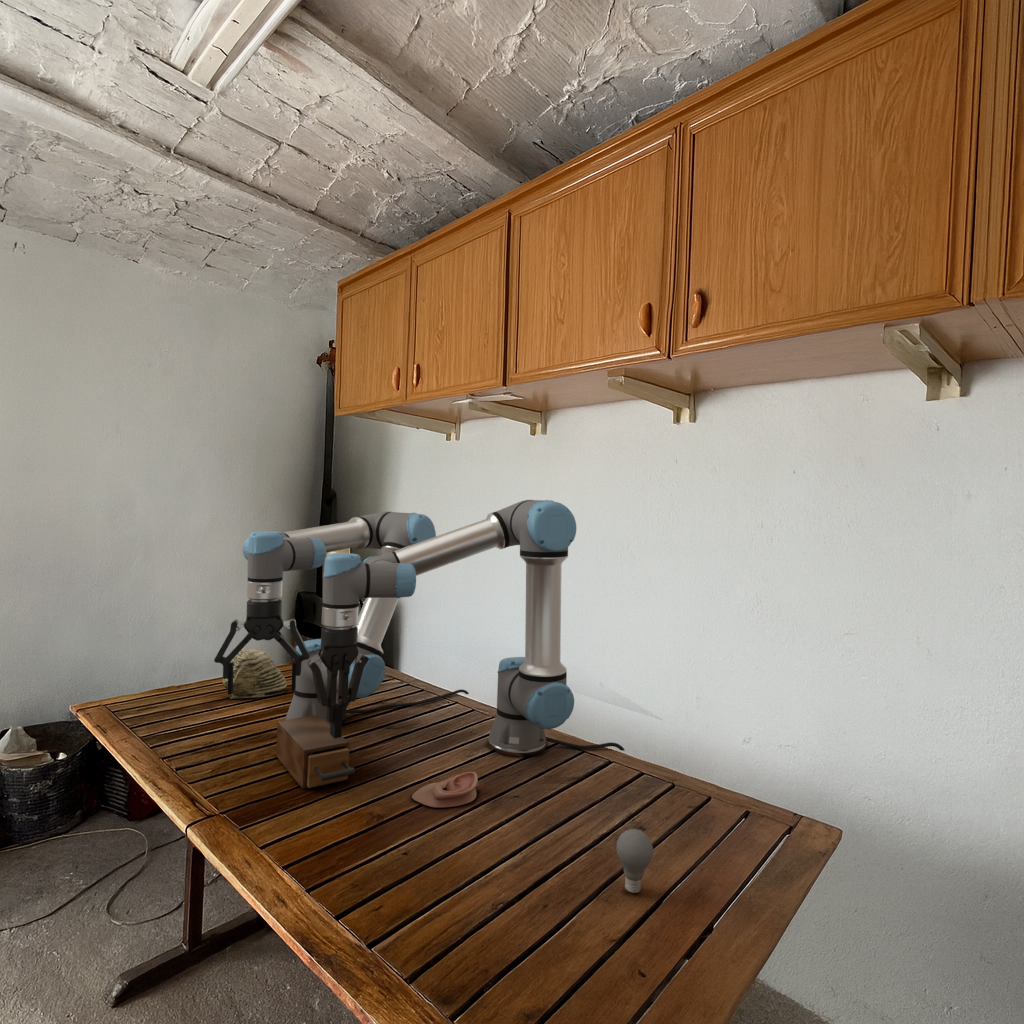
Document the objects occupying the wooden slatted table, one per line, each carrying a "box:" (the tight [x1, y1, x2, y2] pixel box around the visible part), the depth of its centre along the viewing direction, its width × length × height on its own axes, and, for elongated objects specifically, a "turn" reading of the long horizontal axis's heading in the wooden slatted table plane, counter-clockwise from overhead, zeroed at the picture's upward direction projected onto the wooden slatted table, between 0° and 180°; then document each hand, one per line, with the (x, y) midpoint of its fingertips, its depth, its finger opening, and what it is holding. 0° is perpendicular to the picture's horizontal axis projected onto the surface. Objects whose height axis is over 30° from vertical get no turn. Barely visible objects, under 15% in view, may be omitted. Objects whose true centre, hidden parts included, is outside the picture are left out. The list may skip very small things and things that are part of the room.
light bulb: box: [615, 828, 654, 894], centre depth 106 cm, size 6×6×10 cm
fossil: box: [222, 646, 288, 699], centre depth 198 cm, size 9×18×15 cm, turn 132°
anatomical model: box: [411, 771, 479, 809], centre depth 136 cm, size 13×4×12 cm
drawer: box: [307, 747, 356, 789], centre depth 143 cm, size 25×9×7 cm, turn 36°
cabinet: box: [275, 715, 349, 790], centre depth 148 cm, size 20×10×8 cm, turn 36°
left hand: (262, 691), depth 146 cm, fingers open, 13 cm apart
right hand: (335, 735), depth 135 cm, fingers closed
